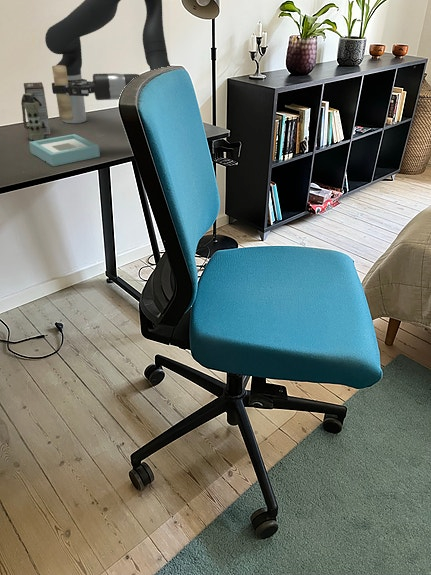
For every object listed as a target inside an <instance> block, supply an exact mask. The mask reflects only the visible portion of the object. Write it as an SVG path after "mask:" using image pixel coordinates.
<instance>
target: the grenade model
mask: <svg viewBox="0 0 431 575" xmlns="http://www.w3.org/2000/svg"><path fill="white" fill-rule="evenodd" d="M22 94H23V95H22V98H21V100H20V104H21V110H22V122H23V128H24V129H26V130H28V131H29V134H28V138H29V140H30V141H37V140H43V139H46V138H45V135H44V133H43V132H42V130H41V124H40V118H39V112H38V108H39V107H40V106H42V104H41V103H40V102H39V101H38V100H37V99H36V98H35V97H33V96H35V94H31V93H25V92H24V93H22ZM33 99H34V100H35V101H33ZM27 123H28V125H27Z"/></svg>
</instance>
